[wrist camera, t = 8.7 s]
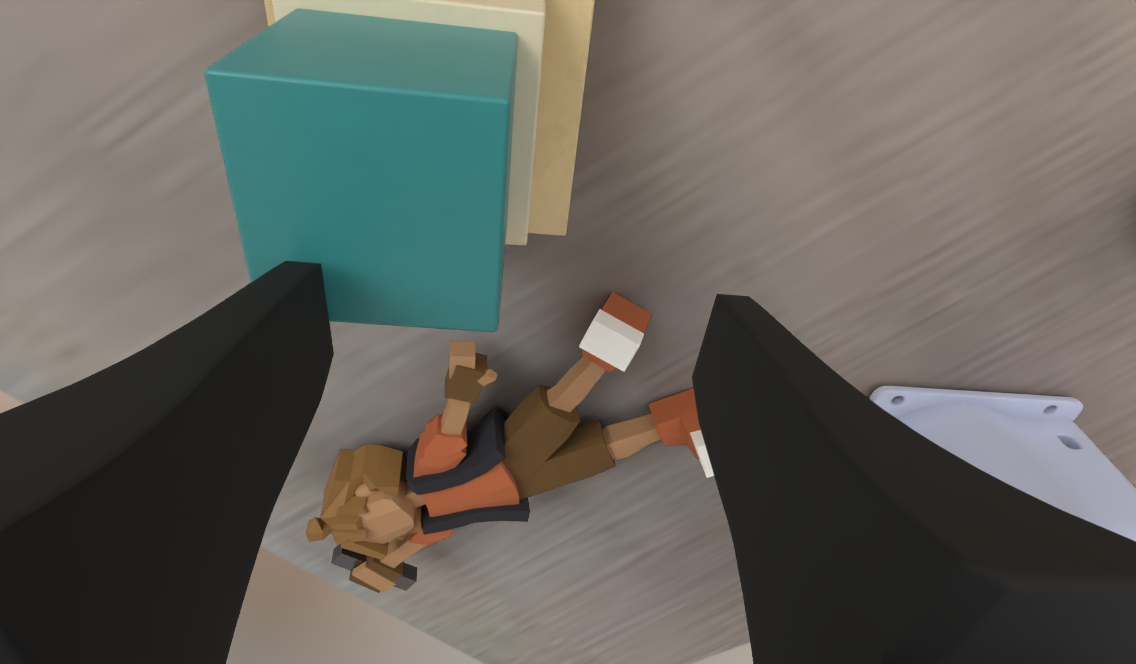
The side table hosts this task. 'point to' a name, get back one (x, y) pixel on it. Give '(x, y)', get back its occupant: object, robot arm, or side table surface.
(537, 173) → the birch slab
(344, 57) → the toy cube
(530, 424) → the low-poly toy doll
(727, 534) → the side table surface
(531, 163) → the cream block
